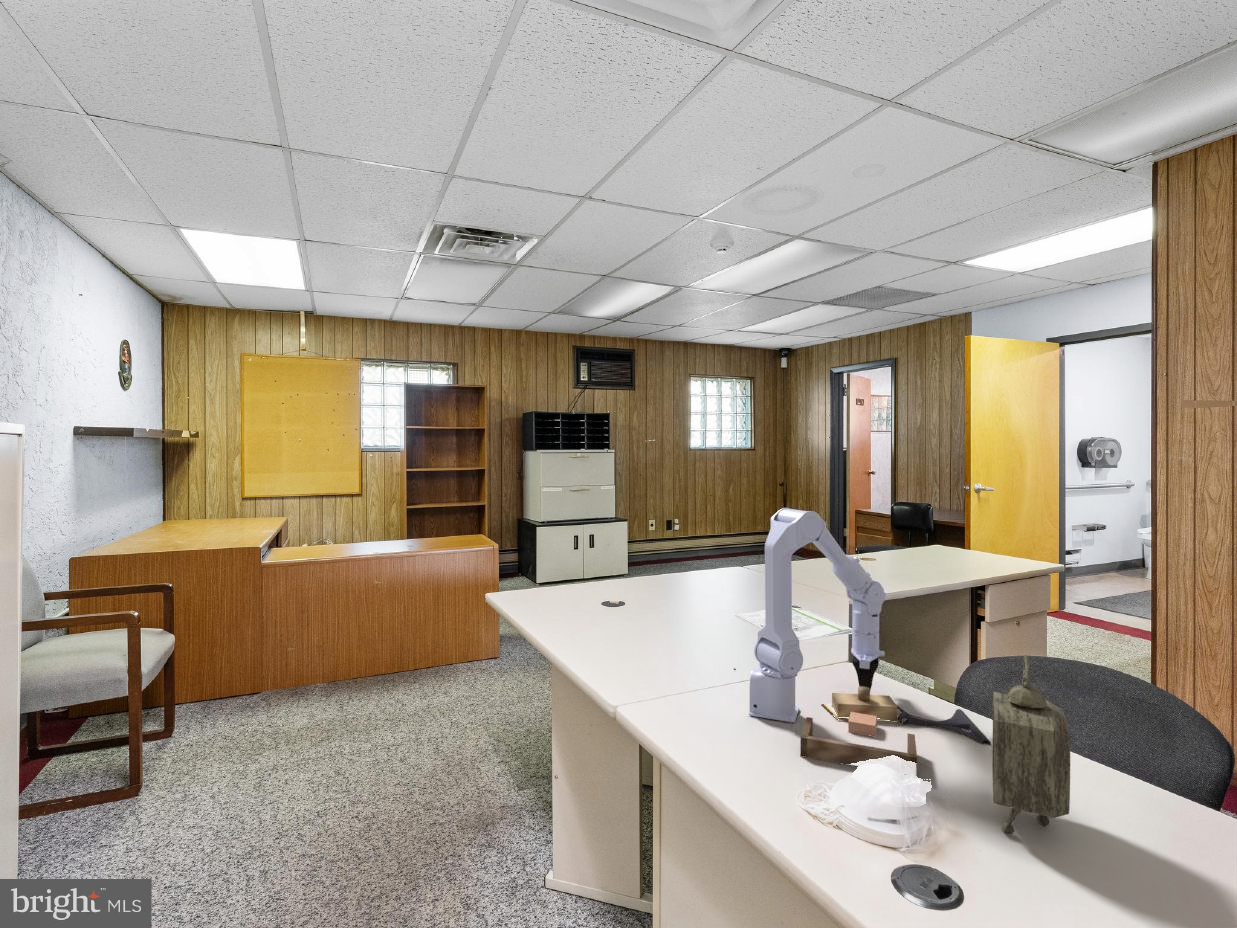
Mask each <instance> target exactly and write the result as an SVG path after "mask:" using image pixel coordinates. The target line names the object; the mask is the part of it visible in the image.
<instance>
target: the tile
mask: <svg viewBox="0 0 1237 928" xmlns="http://www.w3.org/2000/svg"><path fill="white" fill-rule="evenodd" d="M847 722H848V725H847V727H848V729H847V733H853V734H858V735H862V734H863V736H867V735H871V736H870V737H873V736H875V737H876V734H877V733H876V732H877V728H876V727H877V725H878V721H877V716H873V715H867V714H861V713H855V712H851V713H850V717H849V719H848V721H847Z"/></svg>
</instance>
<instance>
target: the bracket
mask: <svg viewBox="0 0 1237 928" xmlns="http://www.w3.org/2000/svg"><path fill="white" fill-rule="evenodd" d="M904 719H905V721H903V720H904ZM897 723H898V724H899V725H907V726H916V727H917V726H919V727H932V728H933V727H934V728H939V729H944V730H947V731H950V732H953V733H956V734H959V735H962V736H964V737H966V738H969V739H971V740H973V741H974V742H976V743H978V744H981V745H984V742H985V743H986V744H987V745H988V746H991V744H992V743H991V741H990V739H989V738H988V737H987V736H986V735H985V734H984V733H983V732H982V730H980V729H979V727H978V726H977V725H976V724H975V723H974V722H973V721H972V720H971V718H970V717H969V716H968V715H967V714H966V713H965V712H964V711H963V710H962V709H960V708H957V709H956V710H955V712H954V713H953V715H952V717H949V718H947V719H945V720H933V719H928V718H923V717H921V716H916V715H913V714H910V713H908V712H905V711H904V712H901V713H898V722H897ZM967 730H968V731H967Z"/></svg>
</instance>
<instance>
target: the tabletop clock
mask: <svg viewBox="0 0 1237 928" xmlns="http://www.w3.org/2000/svg"><path fill="white" fill-rule="evenodd" d="M1022 658H1023V660H1022V661H1023V663H1022V665H1023V666H1022V667H1023V673H1022V674H1023V675H1022V677H1021V680H1022V681H1021V683H1022V684H1020V685H1014V686H1013V687H1012V688H1010V689H1009V691H1007V693H1002V692H996V691H993V692H992V696H993V697H992V755H991V756H992V767H991V768H992V771H991V772H992V773H991V774H992V795H993V796H992V801H993V804H995V805H999V806H1003V807H1008V808H1010V809H1011V811H1010V815H1009V818H1008V822H1007V821H1004V822H1003V823H1002V824H1001V825H1000V829H1001V831H1002V833H1004V834H1005V835H1009V836H1011V835H1013V833H1014V832H1015V828H1014V826H1013V824H1014V822H1015V820H1016V819H1017V817H1018V815H1019V814H1020V813H1021V812H1028V813H1032V814H1035V815H1036V822H1037V823H1038V824H1039V825H1040V826H1042V827H1048V826H1049V825H1050V819H1049V818H1051V819H1055V818H1056V819H1057V818H1059V817H1063V816H1066V815H1070V806H1071V805H1070V804H1071V801H1070V800H1071V796H1070V795H1071V737H1070V736H1071V734H1070V729H1069V726H1068V722H1067V718H1066V716H1065V713H1064V710H1063V709H1062V708H1060V707H1059V706H1058V705H1055V704H1053V703H1052V702H1050V701H1049V700H1046V698H1045V697H1044V695H1043V694H1042V693H1041V691H1039V690H1038V689H1037V688H1035V687H1033V686H1032V687H1031V680H1032V679H1031V661H1030V657H1029V656H1028V655H1023V657H1022Z"/></svg>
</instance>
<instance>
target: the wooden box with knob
mask: <svg viewBox="0 0 1237 928" xmlns="http://www.w3.org/2000/svg"><path fill="white" fill-rule="evenodd" d="M831 694H832V695H831V707H832V706H833V708H834V710H835V712H836V714H837V716H836V718H837V717H850V713H851V712H855V713H861V714H867V715H873V716H877V718H880V719H883V720H884V719H885V720H890V721H897V722H896V723H899V722H898V716H899V713H898V712H899V711H898V705H897V704H896V703H895V700H893V699H892V697H891V696H890V695H883V694H882V695H880V694H871V690H870V688H868V687H864V686H860V687H859V686H858V687H857V693H845V692H832V693H831ZM833 708H832V709H833ZM834 710H833V711H834ZM835 712H834V713H835ZM836 714H835V715H836Z"/></svg>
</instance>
